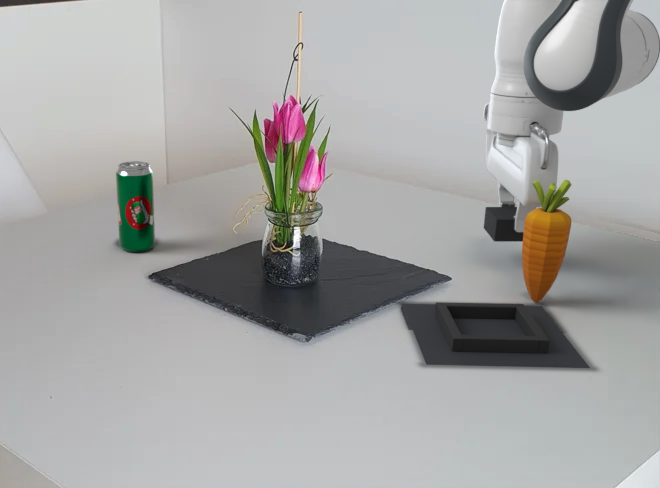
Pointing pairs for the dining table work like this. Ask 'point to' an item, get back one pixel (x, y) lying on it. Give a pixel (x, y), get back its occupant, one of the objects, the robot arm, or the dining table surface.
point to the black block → (501, 224)
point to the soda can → (135, 206)
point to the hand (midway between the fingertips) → (512, 222)
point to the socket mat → (489, 335)
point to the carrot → (545, 240)
